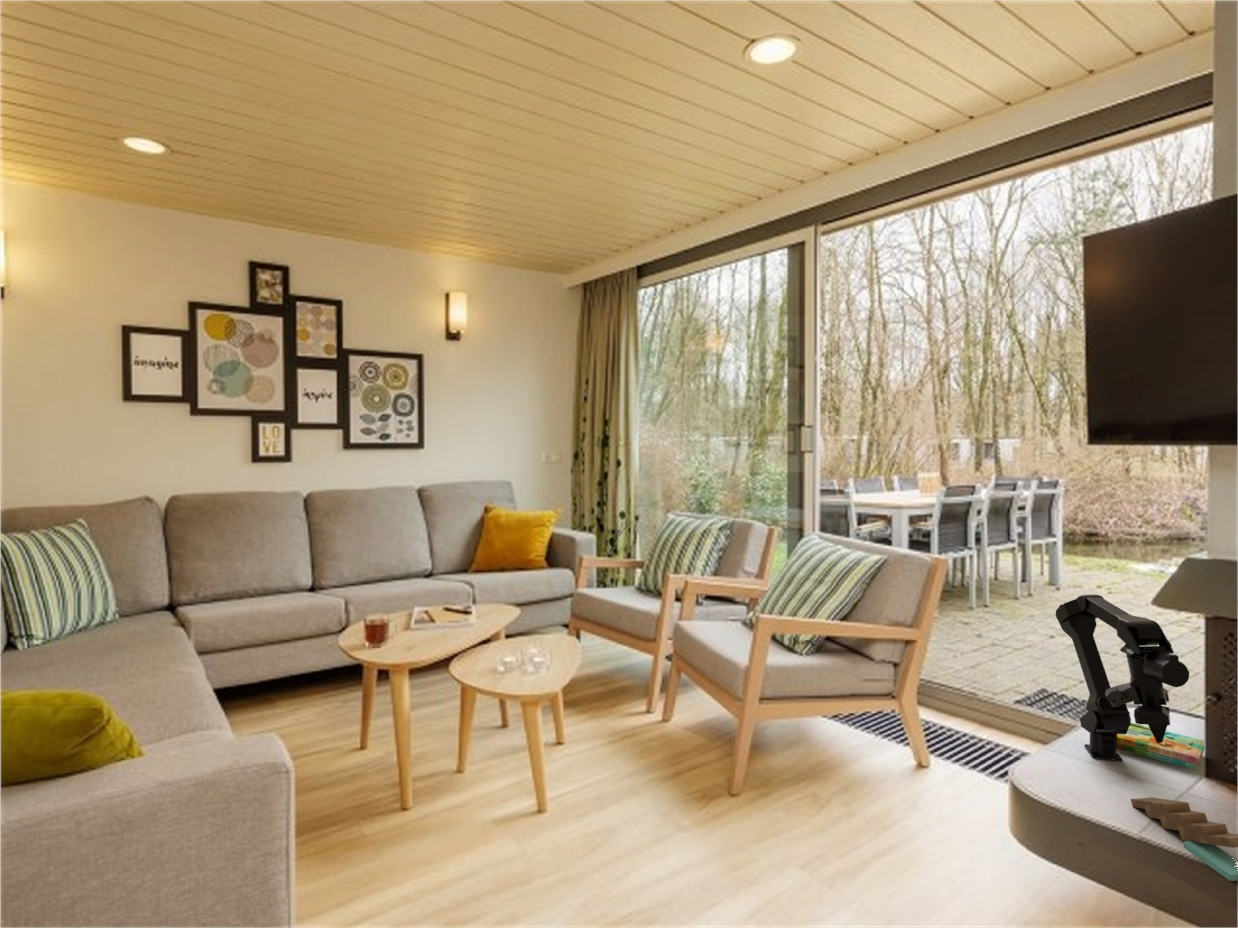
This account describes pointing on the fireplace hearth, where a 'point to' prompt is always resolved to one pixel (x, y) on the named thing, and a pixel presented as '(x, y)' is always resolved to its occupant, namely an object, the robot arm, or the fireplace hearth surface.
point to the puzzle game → (1162, 746)
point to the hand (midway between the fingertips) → (1159, 741)
